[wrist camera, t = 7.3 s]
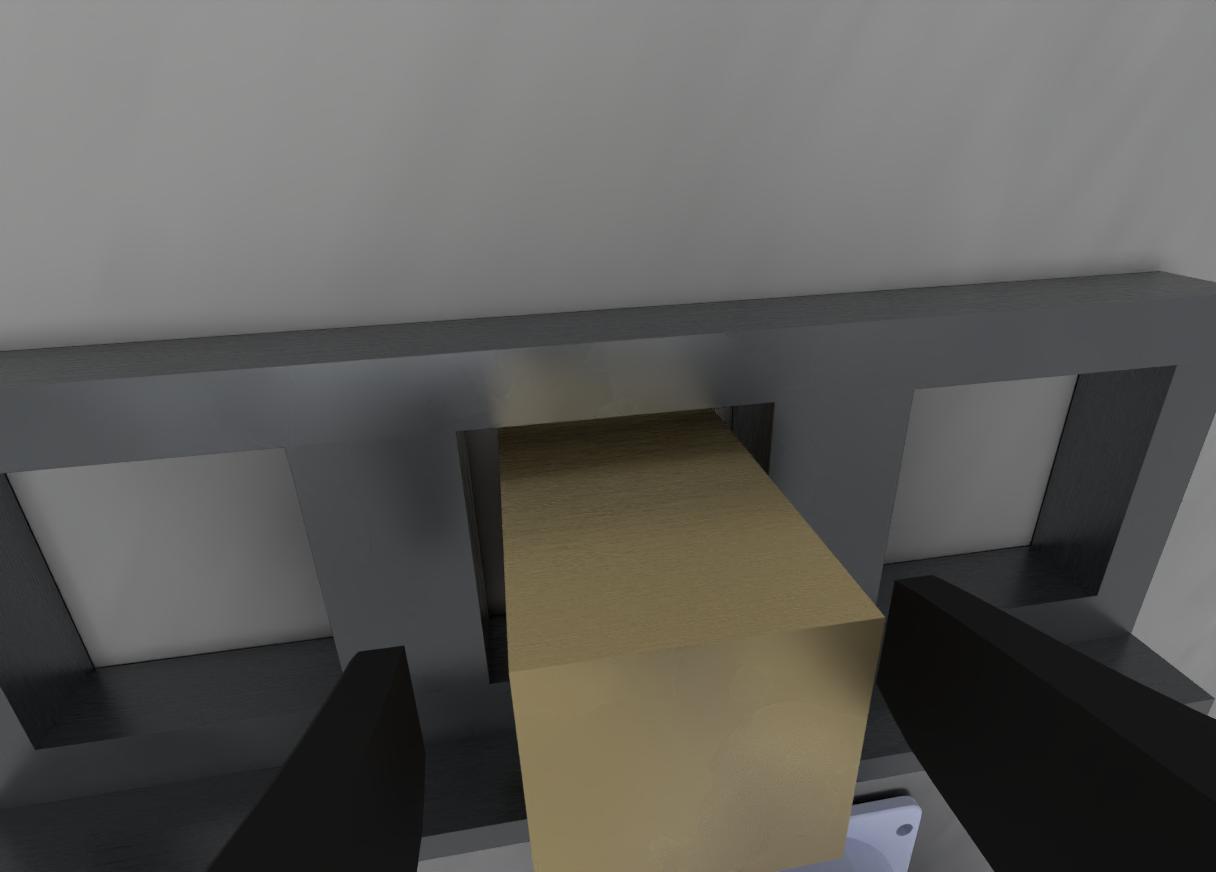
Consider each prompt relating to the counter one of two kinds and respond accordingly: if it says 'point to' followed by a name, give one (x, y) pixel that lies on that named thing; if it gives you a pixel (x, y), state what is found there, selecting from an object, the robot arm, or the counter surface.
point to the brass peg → (676, 652)
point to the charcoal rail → (448, 535)
